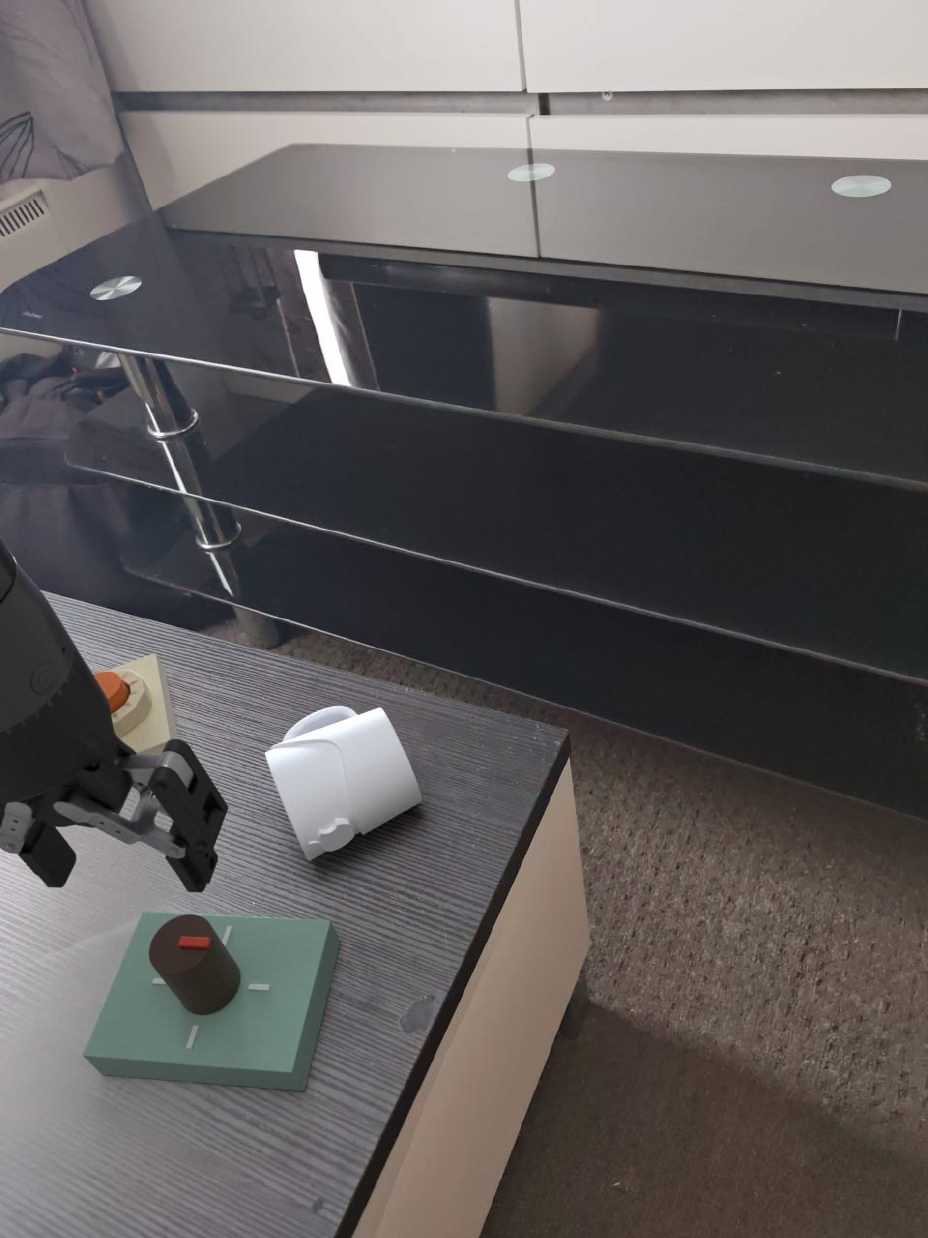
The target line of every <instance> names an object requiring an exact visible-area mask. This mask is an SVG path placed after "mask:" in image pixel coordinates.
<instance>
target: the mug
mask: <svg viewBox="0 0 928 1238" xmlns="http://www.w3.org/2000/svg"><path fill="white" fill-rule="evenodd" d="M264 757H265V760H266V763H267V766H268V770H269V772H270V774H271V778H272V779H273V780H272V781H273V783H274V785H275V788H276V790H277V792H278V795H279V798H280V800H281V803H282V805H283V807H284V811H285V812H286V815H287V817H288V820H289V822H290V825H291V827H292V829H293V832H294V834H295V836H296V838H297V841H298V843H299V845H300V847H301V850H302V852H303V854H304V856H305V858H306V860H307V861H308V862H309V861H312V860H314V859H315V858H317V857H319V856H320V855H322V854H324V853H326V852H334V851H335V852H336V851H337V850H340V849H342V848H343V847H345V846H347V844H349V842H351V841H352V840H353V838H354V837H355V835H357V834H359V833H360V834H362V835H366V834H367V833H369V832H371V831H373V830H374V829H376V828H378V827H380V826H381V825H384V824H385V823H387V822H388V821H390V820H392V819H393V818H395V817H397V816H399V815H401V814H402V813H404V812H406V811H409V809H411V808H412V807H415V806H417V805H418V804H420V803H421V802H422V793H421V790H420V787H419V784H418V781H417V778H416V776H415V772H414V771H413V768H412V766H411V764H410V761H409V758H408V756H407V753H406V752H405V749H404V747H403V745H402V743H401V741H400V738H399V736H398V734H397V733H396V731H395V728H394V726H393V724H392V723H391V720H390V719H389V717H388V715H387V713H386V712H385V710H384V709H383V708H382V707H381V706H380V707H376V708H374V709H371V710H368V711H366V712H362V713H360V714H358V713H357V712H356V711H355V710H353V709H352V708H350V707H348V706H343V705H333V706H329V707H324V708H322V709H320V710H319V709H318V710H317V711H315V712H312V713H310V714H309V715H307V716H305V717H303V718H301V719H300V720H299V721H298V722H296V723H295V724H294V725H293V726H292V727H291V728H290V729H289V730H287V732H286V733H285V735H284V737H283V738H282V741H281V742H278V743H275V744H272V745H271V746H270V747H269V750H267V751H265V752H264Z"/></svg>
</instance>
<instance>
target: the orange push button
mask: <svg viewBox="0 0 928 1238" xmlns="http://www.w3.org/2000/svg"><path fill="white" fill-rule="evenodd" d="M93 675H94V677H95V678H96V680H97V681H98V683H99V685H100V686H101V688H102V690H103V691H104V693H105V695H106V696H107V699H108V701H109V704H110V709H111V714H113V713H115V712H116V711H117V710H118V709H120V708H121V707H122V706H123V705H125V703H126V702H127V700H128V696H129V692H128V689H127V688H126V686H125V684H124V683H123V681H122V679H121V677H120V676H119V675H118V674H117V673H115V672H110V671H107V670H105V672H104V671H100V672H97V673H94V674H93Z"/></svg>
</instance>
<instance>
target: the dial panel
mask: <svg viewBox="0 0 928 1238" xmlns="http://www.w3.org/2000/svg"><path fill="white" fill-rule="evenodd" d="M184 914H185V913H179V912H157V911H155V912H154V911H143V912H142V913H141V915H140V918H139V921H138V923H137V925H136V927H135V930H134V932H133V934H132V936H131V937H132V938H131V940H130V942H129V944H128V946H127V949H126V952H125V954H124V956H123V959H122V961H121V964H120V966H119V969H118V971H117V973H116V975H115V978H114V980H113V983H112V985H111V987H110V990H109V992H108V994H107V996H106V999H105V1001H104V1004H103V1006H102V1009H101V1011H100V1014H99V1016H98V1018H97V1021H96V1023H95V1025H94V1027H93V1030H92V1033H91V1035H90V1037H89V1040H88V1042H87V1045H86V1047H85V1049H84V1052H83V1054H82V1057H83V1058H84V1059H85V1060H86V1061H87V1062H88V1063H89V1064H90V1065H91V1066H93V1068H95V1070H97V1072H98V1073H100V1074H101V1075H102V1076H114V1077H115V1076H116V1077H125V1078H139V1079H147V1080H149V1079H151V1080H161V1081H162V1080H163V1081H173V1082H186V1083H196V1084H198V1083H199V1084H207V1085H208V1084H211V1085H223V1086H233V1087H235V1086H236V1087H243V1088H245V1087H246V1088H258V1089H269V1090H270V1089H271V1090H281V1091H292V1092H305V1091H306V1088H307V1083H308V1080H309V1076H310V1071H311V1067H312V1064H313V1063H312V1062H313V1058H314V1056H315V1050H316V1047H317V1042H318V1039H319V1034H320V1030H321V1026H322V1021H323V1018H324V1013H325V1009H326V1006H327V1001H328V996H329V992H330V989H331V985H332V981H333V976H334V972H335V967H336V964H337V959H338V955H339V951H340V947H341V943H342V941H341V939H340V937H339V935H338V933H337V931H336V928H335V926H334V924H333V923H332V921H331V919H320V918H319V919H318V918H316V919H315V918H293V917H289V918H288V917H271V916H247V915H224V914H204V913H203V914H201V913H196V914H197V915H200V916H202V917H204V918H205V919H207V920H208V922H209V923H210V924H211V926H212V927H213V929H214V930H215V932H216V933H217V935H218V936H219V938H220V940H221V941H222V943H223V944H224V946H225V947H226V949H227V950H228V952H229V953H230V955H231V956H232V958H233V959H234V961H235V962H236V964H237V965H238V967H239V970H240V984H239V987H238V990H237V992H236V994H235V995H234V997H233V998H232V1000H231V1001H230V1002H229V1003H228V1004H227V1005H226V1006H224V1007H223V1008H222V1009H220V1010H218V1011H216V1012H214V1013H211V1014H206V1015H198V1014H194V1013H191V1012H190V1011H188V1010H187V1009H186V1008H185V1007H184V1006H183V1004H182V1003H181V1002H180V1001H179V999H178V998H177V997H176V996H175V994H174V993H173V992H172V990H171V989H170V988H169V987H168V985H167V984H166V983H165V982H164V980H163V979H162V978H161V977H160V975H159V974H158V973H157V971H156V970H155V969H154V968H153V966H152V965H151V963H150V959H149V948H150V944H151V941H152V939H153V937H154V935H155V934H156V933H157V931H158V930H159V929H160V928H161V927H162V926H163V925H164V924H165V923H166V922H168V921H169V920H171V919H173V918H175V917H177V916H180V915H184Z"/></svg>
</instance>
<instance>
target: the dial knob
mask: <svg viewBox="0 0 928 1238" xmlns="http://www.w3.org/2000/svg"><path fill="white" fill-rule="evenodd" d="M183 914H184V915H180V916H177V917H175V918H173V919H171V920H169V921H168V922H166V923H165V924H164V925H163V926H162V927H161V928H160V929H159V930H158V931H157V933H156V934H155V935H154V937H153V939H152V941H151V944H150V948H149V959H150V963H151V965H152V966H153V968H154V969H155V970H156V971H157V973H158V974H159V975H160V977H161V978H162V979H163V980H164V982H165V983H166V984H167V985H168V987H169V988H170V989H171V990H172V992H173V993H174V994H175V996H176V997H177V998H178V999H179V1001H180V1002H181V1003H182V1004H183V1006H184V1007H185V1008H186V1009H187V1010H188V1011H190V1012H191V1013H194V1014H198V1015H206V1014H211V1013H214V1012H216V1011H218V1010H220V1009H222V1008H223V1007H224V1006H226V1005H227V1004H228V1003H229V1002H230V1001H231V1000H232V998H233V997H234V995H235V994H236V992H237V990H238V987H239V984H240V970H239V967H238V965H237V964H236V962H235V961H234V959H233V958H232V956H231V955H230V953H229V952H228V950H227V949H226V947H225V946H224V944H223V943H222V941H221V940H220V938H219V936H218V935H217V933H216V932H215V930H214V929H213V927H212V926H211V924H210V923H209V922H208V920H207V919H205V918H204V917H202V916H200V915H197V914H198V913H183Z"/></svg>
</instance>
